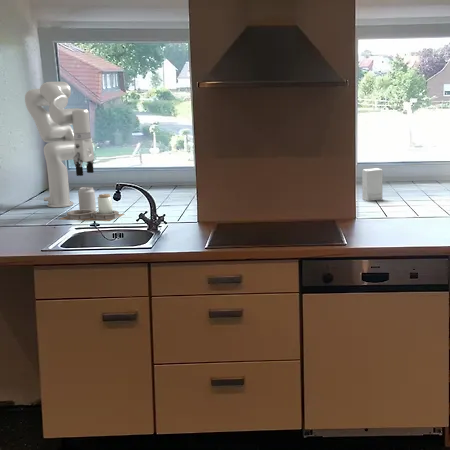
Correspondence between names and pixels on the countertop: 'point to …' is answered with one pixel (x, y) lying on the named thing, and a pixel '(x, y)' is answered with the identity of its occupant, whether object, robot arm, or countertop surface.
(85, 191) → the can
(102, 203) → the jar
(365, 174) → the skincare box
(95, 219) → the stand
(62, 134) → the robot arm
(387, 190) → the countertop surface
